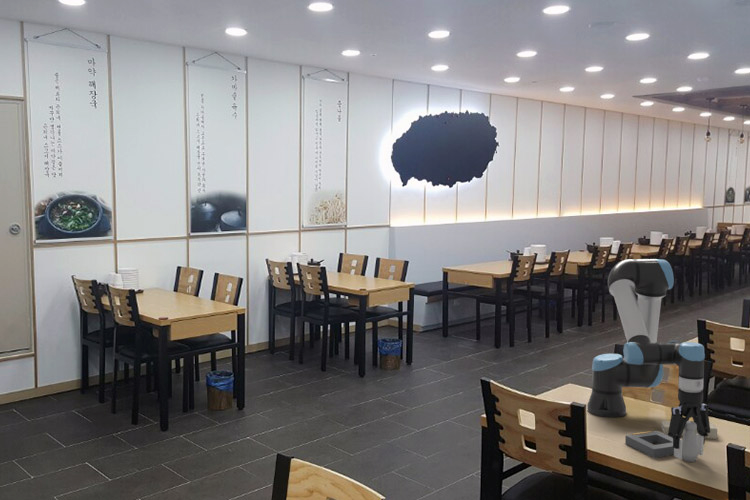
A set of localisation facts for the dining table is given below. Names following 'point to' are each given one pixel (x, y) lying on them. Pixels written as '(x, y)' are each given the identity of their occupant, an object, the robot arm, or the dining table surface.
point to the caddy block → (644, 444)
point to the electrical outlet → (712, 433)
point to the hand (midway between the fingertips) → (688, 455)
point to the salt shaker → (689, 442)
